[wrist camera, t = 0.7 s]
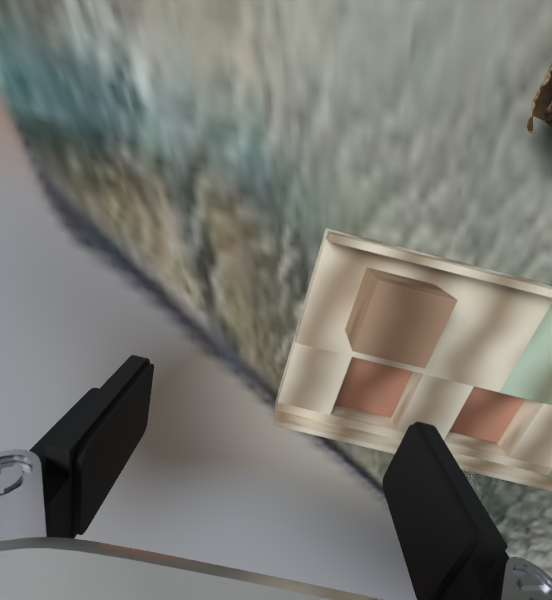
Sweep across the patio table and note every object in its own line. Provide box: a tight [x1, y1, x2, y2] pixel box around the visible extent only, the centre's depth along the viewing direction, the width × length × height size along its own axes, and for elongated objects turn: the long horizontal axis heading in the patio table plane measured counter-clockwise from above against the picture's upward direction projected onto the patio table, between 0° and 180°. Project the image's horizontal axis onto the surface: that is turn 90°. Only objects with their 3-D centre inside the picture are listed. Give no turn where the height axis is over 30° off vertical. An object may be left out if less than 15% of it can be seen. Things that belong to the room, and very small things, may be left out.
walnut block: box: [345, 267, 458, 369], centre depth 25 cm, size 6×6×4 cm
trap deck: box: [273, 228, 552, 491], centre depth 29 cm, size 30×19×4 cm, turn 77°
